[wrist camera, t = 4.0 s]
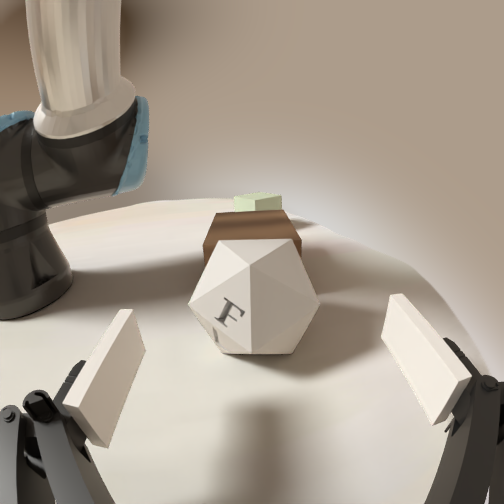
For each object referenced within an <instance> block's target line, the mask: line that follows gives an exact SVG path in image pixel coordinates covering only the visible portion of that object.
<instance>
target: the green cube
mask: <svg viewBox="0 0 504 504" xmlns="http://www.w3.org/2000/svg"><path fill="white" fill-rule="evenodd" d="M281 201H282V198H281V195H275V194H268V193H262V192H257V193H252V194H246V195H240V196H234V209H235V212H242V211H262V210H282V202H281Z"/></svg>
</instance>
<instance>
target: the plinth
mask: <svg viewBox="0 0 504 504" xmlns="http://www.w3.org/2000/svg"><path fill="white" fill-rule="evenodd" d="M257 239H292V240H293V243H294V245H295V247H296V249H297V251H298V254H299V256H300V258H301V243H302V240H301V238H300V237H299V235H298V233H297V232H296V230H295V228H294V226H293V225H292V223H291V221H290V220H289V218H288V216H287V215H286V213H285V212H284V210H262V211H242V212H225V213H216V215H215V217H214V219H213V222H212V224H211V227H210V229H209V231H208V234H207V236H206V238H205V241H204V243H203V252H204V261H205V267H206V265H207V263H208V261H209V259H210V257H211V255H212V253H213V251H214V249H215V247H216V245H217V243H218V241H219V240H257Z"/></svg>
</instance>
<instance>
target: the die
mask: <svg viewBox="0 0 504 504" xmlns="http://www.w3.org/2000/svg"><path fill="white" fill-rule="evenodd" d="M188 306H189V307H190V308H191V310H192V311H193V313H194V314H195V316H196V317H197V319H198V320H199V322H200V323H201V324H202V326H203V327H204V329H205V330H206V332H207V333H208V334H209V336H210V337H211V339H212V340H213V341H214V343H215V344H216V346H217V347H218V348H219V350H220V351H221V352H222V353H229V354H292V353H293V351H294V350H295V348H296V346H297V345H298V343H299V341H300V340H301V338H302V336H303V334H304V333H305V331H306V329H307V327H308V326H309V324H310V322H311V320H312V319H313V317H314V315H315V313H316V311H317V310H318V308H319V306H320V302H319V300H318V298H317V295H316V293H315V290H314V288H313V286H312V283H311V281H310V279H309V277H308V274H307V272H306V270H305V267H304V265H303V263H302V260H301V258H300V256H299V254H298V251H297V249H296V247H295V245H294V243H293V240H292V239H257V240H219V241H218V243H217V245H216V247H215V249H214V251H213V253H212V255H211V257H210V259H209V261H208V263H207V265H206V267H205V270H204V272H203V274H202V276H201V278H200V280H199V282H198V284H197V286H196V289H195V291H194V293H193V295H192V297H191V299H190V301H189V304H188Z"/></svg>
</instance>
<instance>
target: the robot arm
mask: <svg viewBox="0 0 504 504" xmlns="http://www.w3.org/2000/svg"><path fill="white" fill-rule="evenodd" d="M120 11H121V0H26V14H27V24H28V33H29V40H30V48H31V53H32V60H33V65H34V70H35V75H36V80H37V84H38V89H39V93H40V97H41V101H42V102H41V103H40V105H39V106H38V108H37V110H36V112H35V113H34V112H32V111H17V112H14V113H12V114H10V115H3V116H0V319H12V318H17V317H20V316H24V315H27V314H29V313H32V312H34V311H37V310H39V309H41V308H43V307H45V306H46V305H48V304H50V303H51V302H53V301H54V300H56V299H57V298H59V297H60V296H61V295H62V294H63V293H64V292H65V291H66V290H67V289H68V288H69V287H70V285H71V283H72V281H73V276H72V273H71V269H70V265H69V263H68V261H67V259H66V257H65V256H64V254H63V252H62V251H61V249H60V247H59V246H58V244H57V242H56V240H55V239H54V237H53V235H52V233H51V231H50V229H49V226H48V222H47V217H46V210H45V209H49V208H53V207H57V206H62V205H67V204H71V203H77V202H82V201H87V200H92V199H98V198H103V197H109V196H116V195H117V194H120V193H124V192H128V191H132V190H135V189H137V188H138V187H140V185H141V184H142V183H143V181H144V178H145V174H146V167H147V156H148V140H147V138H148V131H149V107H148V101H147V99H146V98H144V97H140V96H135V88H134V85H133V84H132V83H131V82H130V81H129V80H128V79H126V78H124V77H122V76H120ZM381 338H382V340H383V341H384V343H385V344H386V346H387V348H388V349H389V351H390V353H391V354H392V356H393V358H394V359H395V361H396V363H397V364H398V366H399V368H400V369H401V371H402V373H403V374H404V376H405V378H406V380H407V381H408V383H409V385H410V386H411V388H412V390H413V392H414V394H415V395H416V397H417V399H418V401H419V403H420V404H421V406H422V408H423V410H424V412H425V413H426V415H427V417H428V419H429V421H430V423H431V425H432V426H433V425H436V424H438V423H441V422H443V421H445V420H446V419H447V418H448V416H449V415H450V413H451V412H452V413H453V415H454V418H453V419H452V421H451V422H450V424H449V425H448V427H447V428H446V430H445V432H447V431H448V430H449V428H450V430H449V434H448V438H447V441H446V445H445V448H444V452H443V455H442V458H441V461H440V464H439V467H438V470H437V473H436V476H435V479H434V481H433V484H432V487H431V489H430V492H429V494H428V496H427V499H426V501H425V503H424V504H484V503H485V500H486V496H487V492H488V488H489V504H504V382H498V381H497V380H496V379H495V378H494V377H492V376H489V375H483V376H482V375H481V374H480V373H479V372H478V370H477V369H476V368H475V367H474V365H473V364H472V363H471V362H470V360H469V359H468V358H467V357H465V354H464V353H463V352H462V351H460V348H459V347H458V346H457V345H456V344H455V343H454V342H453V341H451V340H450V339H448V338H447V337H446V338H441V337H440V335H439V334H438V333H437V332H436V331H435V329H434V328H433V327H432V326H431V325H430V324H429V322H428V321H427V320H426V319H425V318H424V317H423V316H422V315H421V313H420V312H419V311H418V310H417V309H416V308H415V307H414V306H413V304H412V303H411V302H410V301H409V300H408V299H407V298H406V297H405V296H404V295H403V294H402V293H401V294H393V295H390V298H389V303H388V308H387V313H386V318H385V322H384V327H383V331H382V335H381ZM145 352H146V350H145V347H144V344H143V341H142V338H141V334H140V331H139V328H138V324H137V321H136V318H135V314H134V310H133V309H120V310H119V312H118V313H117V315H116V316H115V318H114V319H113V321H112V322H111V324H110V325H109V327H108V328H107V330H106V331H105V333H104V334H103V336H102V337H101V339H100V341H99V342H98V344H97V345H96V347H95V348H94V350H93V352H92V353H91V355H90V357H89V358H88V360H87V361H84V360H81V361H80V362H79V363H77V364H76V365H75V366H74V367H73V368H72V370H71V371H70V373H69V376H67V378H66V380H65V383H63V385H62V386H61V388H60V390H59V391H58V393H57V395H56V396H55V398H54V400H53V401H52V399H51V398H50V396H49V395H48V393H47V392H45V391H44V390H35V391H32V392H31V393H29V394H28V395H27V396H26V397H25V399H24V401H23V408H24V409H25V410H26V412H27V413H21V411H20V410H19V409H18V407H16V406H15V405H8V406H6V407H4V408H3V409H2V410H1V411H0V504H55V500H56V503H57V504H115V502H114V500H113V499H112V497H111V495H110V493H109V491H108V490H107V488H106V486H105V484H104V482H103V480H102V478H101V476H100V474H99V472H98V470H97V468H96V466H95V464H94V461H93V459H92V457H91V455H90V452H89V450H88V448H87V446H86V445H85V440H86V438H88V439H89V441H90V442H91V443H92V444H93V445H96V446H100V447H104V448H108V447H109V444H110V442H111V439H112V436H113V433H114V430H115V428H116V425H117V422H118V419H119V417H120V414H121V411H122V409H123V406H124V404H125V401H126V398H127V396H128V393H129V391H130V388H131V386H132V383H133V381H134V378H135V376H136V373H137V371H138V368H139V366H140V364H141V361H142V359H143V356H144V354H145Z"/></svg>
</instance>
